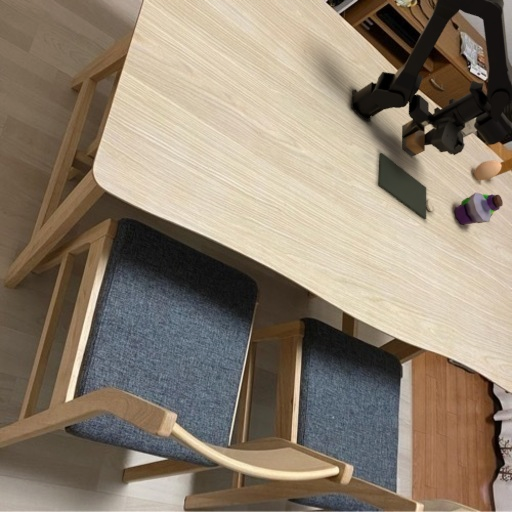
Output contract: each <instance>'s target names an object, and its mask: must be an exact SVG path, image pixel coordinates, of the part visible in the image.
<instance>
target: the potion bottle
mask: <svg viewBox="0 0 512 512" xmlns="http://www.w3.org/2000/svg"><path fill="white" fill-rule="evenodd" d="M483 195H484V194H482V193H478V192H474V193H473V194H472V195H470V196H468V197H466V198H464V199H462V201H461V203H460V204H459V205H458V206H455V207H454V209H453V214H454V217H455V220H456V222H458V224H459V225H461V226H465V225H471V224H483V223H489V222H490V221H491V218H492V216H491V211H490V210H492V211H495V212H496V211H498V210H500V208H501V207H502V206H503V205H504V203H503V199H502V196H501V195H500V194H493V193H491V194H488V195H489V196H487V200H486V199H485V198H484V197H483Z"/></svg>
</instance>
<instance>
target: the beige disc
mask: <svg viewBox="0 0 512 512" xmlns="http://www.w3.org/2000/svg"><path fill="white" fill-rule="evenodd" d="M426 210H427V211H428V212H433V210H434V205H433V202H432V200H431V199H426Z"/></svg>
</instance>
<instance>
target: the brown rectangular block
mask: <svg viewBox="0 0 512 512" xmlns="http://www.w3.org/2000/svg"><path fill="white" fill-rule="evenodd" d="M412 120H413V119H411V120H409V121H408V122H406V123H404V124H403V125H402V126H401V135H402V134H403V133H404V131H405V130H406V129H407V127H408V126H409V124H410V123H411V121H412ZM425 134H426V130H425V131H421V130H419V131H417V132H415V133H413V134H411V135H409V136H407V137H405V138H403V137H402V136H401V151H403V152H404V153H405V154H407V155H408V156H409V157H410V158H414V157H415V156H417V155H420V154H421V153H423V152H425V151H426V145H425Z"/></svg>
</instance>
